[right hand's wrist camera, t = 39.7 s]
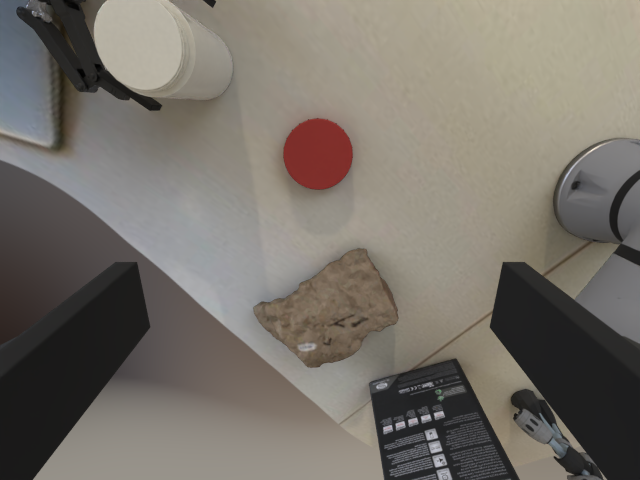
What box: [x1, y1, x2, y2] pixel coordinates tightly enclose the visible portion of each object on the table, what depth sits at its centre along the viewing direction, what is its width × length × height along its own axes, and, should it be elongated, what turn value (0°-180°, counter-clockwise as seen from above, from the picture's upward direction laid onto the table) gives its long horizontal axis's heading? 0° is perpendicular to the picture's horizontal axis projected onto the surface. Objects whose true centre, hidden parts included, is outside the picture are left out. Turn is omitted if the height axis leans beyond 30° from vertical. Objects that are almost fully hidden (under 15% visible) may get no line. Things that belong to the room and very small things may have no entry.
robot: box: [511, 389, 603, 480], centre depth 58 cm, size 20×5×20 cm, turn 52°
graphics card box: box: [369, 359, 520, 480], centre depth 52 cm, size 17×7×27 cm, turn 111°
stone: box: [253, 248, 398, 368], centre depth 57 cm, size 21×15×6 cm
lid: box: [284, 118, 353, 189], centre depth 50 cm, size 10×10×2 cm
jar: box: [94, 0, 233, 100], centre depth 39 cm, size 9×9×17 cm
